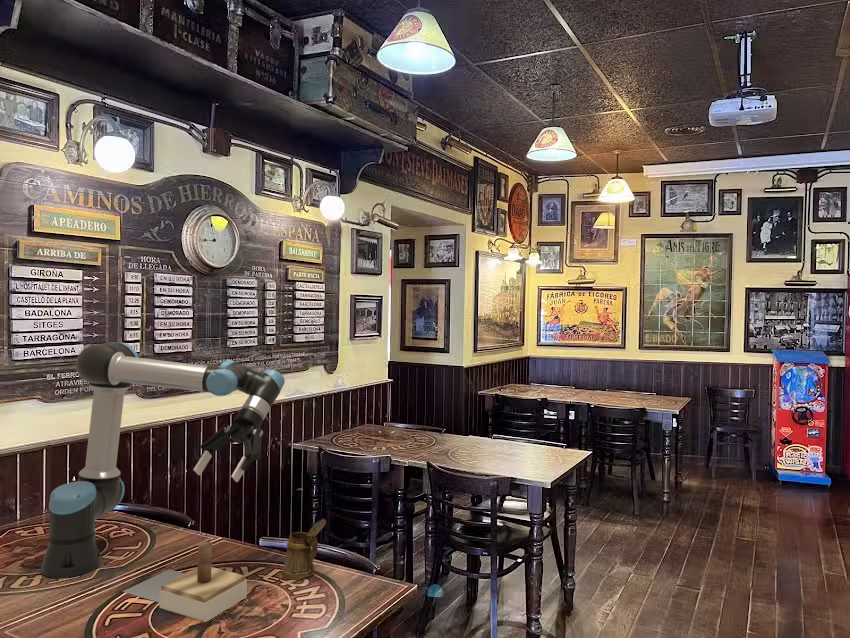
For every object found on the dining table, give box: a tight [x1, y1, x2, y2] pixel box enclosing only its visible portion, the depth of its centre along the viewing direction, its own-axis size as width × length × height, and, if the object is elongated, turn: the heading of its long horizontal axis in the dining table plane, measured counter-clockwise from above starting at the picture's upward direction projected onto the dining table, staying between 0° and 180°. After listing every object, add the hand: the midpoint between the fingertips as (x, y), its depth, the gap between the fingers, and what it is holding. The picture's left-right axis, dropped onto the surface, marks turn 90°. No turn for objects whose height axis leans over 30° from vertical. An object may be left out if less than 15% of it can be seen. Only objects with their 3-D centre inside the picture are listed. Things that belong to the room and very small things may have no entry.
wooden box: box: [159, 579, 248, 623], centre depth 162 cm, size 15×15×5 cm
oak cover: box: [161, 541, 246, 603], centre depth 162 cm, size 14×14×11 cm
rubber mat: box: [122, 569, 186, 604], centre depth 171 cm, size 15×16×1 cm
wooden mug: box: [281, 518, 327, 581], centre depth 181 cm, size 9×14×18 cm, turn 58°
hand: (215, 476), depth 175 cm, fingers open, 13 cm apart
